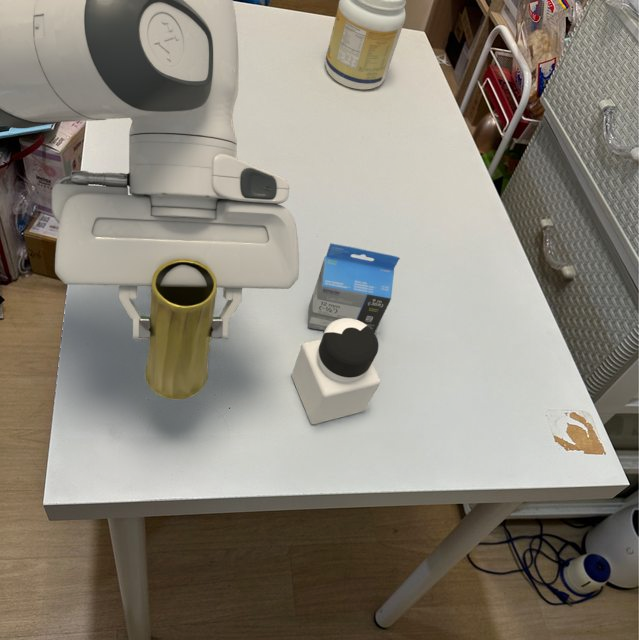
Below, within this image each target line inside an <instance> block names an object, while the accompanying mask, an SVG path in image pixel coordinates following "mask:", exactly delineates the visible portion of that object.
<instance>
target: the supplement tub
mask: <svg viewBox="0 0 639 640" xmlns="http://www.w3.org/2000/svg"><path fill="white" fill-rule="evenodd" d="M337 5H338V6H337V10H336V14H335V17H334V18H335V19H334V22H333V27H332V31H331V35H330V40H329V44H328V48H327V51H326V54H325V69H326V71H327V72H328V74H329V75H330V77H331V78H332V79H333V80H335V81H336V82H337V83H339V84H341V85H343V86H345V87H347V88H351V89H354V90H355V89H356V90H363V91H364V90H372V89H375V88H378V87H379V86H380V85H382V84H383V83H384V81H385V80H386V77H387V74H388V72H389V69H390V66H391V62H392V59H393V56H394V53H395V50H396V48H397V44H398V42H399V38H400V35H401V33H402V29H403V26H404V24H405V22H406V9H405V8H406V7H405V6H406V5H407V0H338V4H337Z"/></svg>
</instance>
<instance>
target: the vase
mask: <svg viewBox="0 0 639 640" xmlns="http://www.w3.org/2000/svg"><path fill="white" fill-rule="evenodd" d="M179 265H187V266H190V267H193V268H195V269H197V270H198V271H199V272H200V273H201V274H202V276H203V277H204V279H205V281H206V284H207V287H162V286H160V284H161V282H162V280H163V278H164V276H165V275H166V274H167V273H168V272H169V271H170V270H171V269H173V268H174V267H176V266H179ZM150 287H151V288H150V312H149V316H150V320H151V326H150V339H148V355H147V362H146V364H145V368H144V379H145V382H146V383H147V385H148V387H149V388H150V389H151V390H152V391H153V393H155V394H156V395H158V396H160V397H162V398H164V399H167V400H168V399H169V400H176V401H178V400H186V399H189V398H191V397H194V396H195V395H197V394H199V393H200V391H202V390H203V388H204V387H205V385H206V383H207V382H208V378H209V366H208V363H209V355H210V348H211V337H210V336H211V328H212V320H213V317H214V314H215V305H216V297H217V290H218V288H217V280H216V277H215V276H214V274H213V272H212V271H211V270H210V268H208V267H207V266H206V265H204V264H202V263H200V262H198V261H195V260H189V259H176V260H172V261H169V262H166V263H165V264H163V265H161V266H160V267H159V268H158V269H157V270H156V271H155V273H154V275H153V278H152V286H150Z"/></svg>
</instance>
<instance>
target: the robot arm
mask: <svg viewBox="0 0 639 640" xmlns="http://www.w3.org/2000/svg"><path fill="white" fill-rule="evenodd" d="M234 4H235V3H234V0H0V125H1V126H2V127H3V126H4V127H7V128H12V129H30V128H36V127H42V126H47V125H54V124H58V123H66V122H69V123H71V122H91V121H106V120H118V119H119V120H120V119H130V120H131V124H130V128H129V133H128V134H129V135H128V136H129V138H128V156H129V157H128V167H129V169H128V170H129V171H128V173H125V172H124V173H123V172H89V171H88V170H72V171H70V174H67V175H64V176H62V177H60V178H57V180H56V181H55V182H54V184H53V186H52V188H51V192H50V197H51V198H50V199H51V201H50V202H51V203H50V204H51V214H52V216H53V218H54V220H55V221H56V222H57V223H58V229H57V236H56V243H55V257H54V273H55V275H56V276H57V278H58V279H59V280H61V281H62V283H63V284H65V285H69V286H112V287H115V286H117V287H118V297H119V298H118V300H119V302H120V303H121V304H122V307H123V308H124V309H125V312H126V313H127V314H128V316H129V318H130V319H131V320H132V339H133V340H149V339H150V326H151V320H150V315H141V314H140V312H139V310H138V308H137V306H136V304H135V303H134V301H133V300H136V299H137V297H138V287H152V278H153V275H154V273H155V271H156V270H157V269H158V268H159V267H160V266H161V265H163V264H165V263H166V262H169V261H172V260H176V259H189V260H195V261H198V262H200V263H202V264H204V265H206V266H207V267H208V268H210V270H211V271H212V272H213V274H214V276H215V277H216V280H217V289H218V288H219V289H220V288H221V289H222V296H223V298H224V299H225V300H226V301H227V302H226V303H225V305H224V307H223V308H222V309H221V311H220V314H218V316H213V320H212V328H211V336H210V337H211V339H212V340H215V339H216V340H217V339H218V340H219V339H222V340H223V339H225V340H226V339H228V338H229V321H230V320H231V318H232V317H233V315H234V314H235V312H236V311H237V309H238V307H239V306H240V304H241V303H242V298H243V296H242V295H243V293H242V292H243V289H266V290H267V289H269V290H270V289H272V290H273V289H274V290H289V289H291V288H293V286H294V285H295V284H296V282H297V281H298V280H299V274H300V252H299V239H298V230H297V225H296V221H295V217H294V216H293V215H292V213H291V211H290V210H289V209H288V208H287V207H285V206H283V205H281V204H283V203H285V202H287V201H288V200H289V196H290V183H289V181H288V180H287V179H286V178H284V177H283V176H280V175H278V174H276V173H273V172H271V171H268V170H266V169H263V168H261V167H259V166H256V165H253V164H251V163H248V162H246V161H243V160H241V159H239V158H237V155H238V154H237V153H238V151H237V150H238V146H237V145H238V142H237V141H238V140H237V134H236V130H235V126H234V109H235V104H236V102H237V99H238V95H239V77H240V75H239V73H240V72H239V71H240V67H239V66H240V62H239V59H240V57H239V37H238V25H237V17H236V10H235V5H234ZM68 181H70V182H71V183H65V182H68ZM160 286H162V287H207V284H206V281H205V279H204V277H203V276H202V274H201V273H200V272H199V271H198V270H197V269H195V268H193V267H190V266H187V265H179V266H176V267H174V268H173V269H171V270H170V271H169V272H168V273H167V274H166V275H165V276H164V278H163V280H162V282H161V284H160ZM211 339H210V340H211Z"/></svg>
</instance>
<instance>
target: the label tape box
mask: <svg viewBox="0 0 639 640" xmlns="http://www.w3.org/2000/svg"><path fill="white" fill-rule="evenodd" d="M352 255H356V256H365V257H366V258H369V259H373V260H369V259H364V258H360V257H359V258H358V257H353V256H352ZM400 260H401V258H400V257H399V256H397V255H392V254H388V253H384V252H378V251H375V250H369V249H366V248H365V249H364V248H360V247H356V246H355V247H353V246H350V245H344V244H338V243H335V242H330V244H329V246H328V248H327V252H326V255H325V256H324V257H323V261H322V264H321V267H320V271H319V274H318V276H317V279H316V283H315V285H314V289H313V293H312V296H311V298H310V302H309V305H308V319H307V328H308V329H313V330H320V331H325V330H326V328H327V327H328V325H329V324H330V323H332V322H333V321H335V320H338V319H343V318H349V319H355V320H358V321H361V322H363V323H364V324H366V325H367V326H368V327H370V328H371V330H372V331H373V332H374V333H375V334H376V331H377V329H378V327H379V325H380V323H381V321H382V319H383V317H384V315H385V313H386V310H387V308H389V305H390V303H391V300H392V294H393V287H394V285H393V284H394V277H395V268H396V266H397V264H398V262H399V261H400Z"/></svg>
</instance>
